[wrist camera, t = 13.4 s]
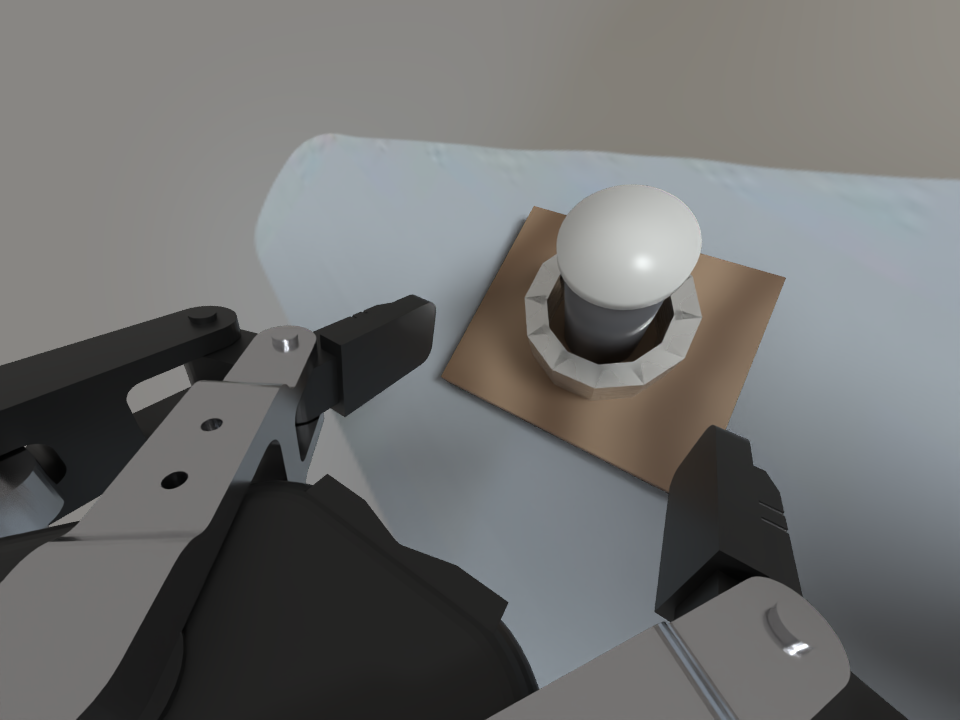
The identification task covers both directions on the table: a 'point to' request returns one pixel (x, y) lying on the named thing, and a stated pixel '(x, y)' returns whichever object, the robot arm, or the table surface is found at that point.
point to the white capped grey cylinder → (622, 266)
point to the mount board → (654, 411)
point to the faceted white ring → (615, 379)
